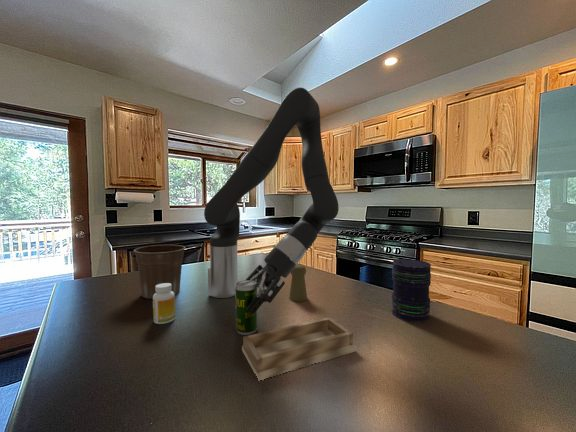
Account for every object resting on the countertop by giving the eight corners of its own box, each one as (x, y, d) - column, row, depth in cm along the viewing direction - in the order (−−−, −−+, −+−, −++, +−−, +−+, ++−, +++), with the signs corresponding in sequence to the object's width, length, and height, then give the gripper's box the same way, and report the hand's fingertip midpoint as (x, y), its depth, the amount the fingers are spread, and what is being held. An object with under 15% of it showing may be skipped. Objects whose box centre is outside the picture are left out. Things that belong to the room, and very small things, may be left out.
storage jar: (428, 311, 77) (430, 260, 77) (431, 325, 69) (432, 268, 68) (392, 305, 82) (393, 257, 81) (390, 318, 73) (391, 264, 72)
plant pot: (195, 287, 100) (194, 244, 99) (168, 303, 84) (167, 253, 83) (156, 285, 103) (155, 243, 102) (123, 300, 87) (121, 251, 86)
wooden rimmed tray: (259, 381, 47) (258, 362, 47) (242, 350, 57) (241, 334, 57) (355, 351, 57) (356, 335, 57) (327, 329, 67) (327, 315, 67)
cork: (307, 295, 91) (307, 263, 90) (307, 301, 85) (307, 268, 84) (290, 294, 92) (290, 263, 91) (288, 301, 86) (288, 267, 85)
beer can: (247, 323, 70) (247, 278, 69) (262, 329, 67) (261, 282, 66) (231, 331, 66) (230, 283, 65) (245, 338, 63) (245, 288, 62)
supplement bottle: (179, 317, 74) (178, 283, 73) (164, 326, 69) (163, 289, 68) (164, 314, 76) (163, 281, 75) (148, 322, 71) (147, 287, 70)
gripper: (266, 242, 75) (226, 288, 71) (288, 250, 62) (241, 307, 58) (283, 259, 78) (246, 304, 73) (307, 270, 65) (264, 325, 61)
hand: (244, 305), depth 66 cm, fingers open, 8 cm apart
